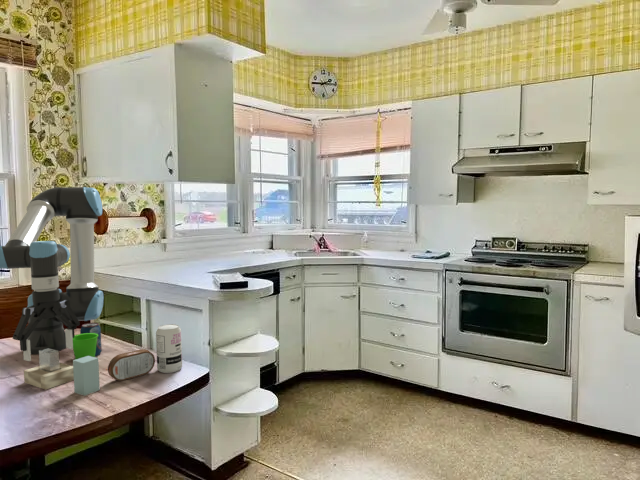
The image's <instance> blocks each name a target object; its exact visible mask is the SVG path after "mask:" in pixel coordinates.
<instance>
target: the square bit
mask: <svg viewBox="0 0 640 480" xmlns="http://www.w3.org/2000/svg"><path fill="white" fill-rule="evenodd" d="M72 366H73V372H74V380H73V386H74V388H73V389H74V391H73V392H74V393H75V394H76V395H77V394H78V395H81V396H85V397H86V396H88V395H91V394H93V393H95V392H98V391H100V390H101V388H100V387H101V386H100V384H101V383H100V368H99V366H100V365H99V357H91V356H86V357H82V358H79V359H76V360H75V359H73V360H72ZM90 393H91V394H90Z"/></svg>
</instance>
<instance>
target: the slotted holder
mask: <svg viewBox="0 0 640 480" xmlns="http://www.w3.org/2000/svg"><path fill="white" fill-rule="evenodd" d="M59 364H60V370H57V371H54V372H46V371H43V370H40V365H38V366H35V367H32V368H27V369H24V370H23V378H24V381H23V382H24V383H25V384H28V385H31V386H33V387H37V388H39V389H43V390H49V389H51V388H54V387H57V386H60V385H63V384H66V383H69V382H72V381H74V372H73V365H70V364H66V363H62V362H59Z"/></svg>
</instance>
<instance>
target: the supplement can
mask: <svg viewBox="0 0 640 480" xmlns="http://www.w3.org/2000/svg"><path fill="white" fill-rule="evenodd" d="M155 344H156V346H155V347H156V367H157V368H156V369H157V371H158V372H160V373H163V374H169V373H170V374H171V373H175V372H179V371H180V370H181V368H182V367H183V352H182V349H183V347H182V345H183V344H182V329H181V327H180V325H179V324H176V323H175V324H174V323H169V324H162V325H159V326H158V327H157V329H156V332H155Z"/></svg>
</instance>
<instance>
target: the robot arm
mask: <svg viewBox="0 0 640 480" xmlns="http://www.w3.org/2000/svg"><path fill="white" fill-rule="evenodd" d="M102 215H103V204H102V199H101V196H100V192H99V191H98V190H97V189H96V188H95V187H87V186H79V187H77V186H76V187H75V186H74V187H67V186H66V187H51V188H48V189H46V190H43V191H42V192H40V193H39V194H37V195H35V196H33V197H32V199H31V200H30V201H29V203H28V204H27V206H26V212H25V214H24V216H23V218H22V219H21V220H20V222H19V224H18V225H17V226H16V228H15V230H14V231H13V233H12V235H11V236H10V238H9V239H8V241H7V242H6V244H5V245H0V270H3V269H4V270H11V269H14V270H15V269H27V268H28V269H30V276H31V277H30V278H31V281H30V282H31V290H32V291H31V294H30V295H28V298H27V306H26V307H22V310H21V317H20V319H19V322H17V323H18V324H17V325H16V328H15V331H14V333H13V335H12V339H13V340H14V341H19V349H20V351H21V352H22V354H23V361H27V362H31V361H32V355H39V351H40V350H43V349H47V348H49V349H53V350H57V351H59V352H60V351H62V350H65V349H69V350H73V338H74V337H75V335H76V334H75V330H76V329H77V326H78V327H79V326H80V325H81V323H80V322H81V321H82V322H83V321H84V322H88V321H94V320H97V319H99V317H100V316H101V314H102V311H103V307H104V298H105V297H104V291H102V290H100V289H99V285H98V284H96V283H95V233H94V232H95V228H94V227H95V224H96V223H97V222H98V220H99V219H98V218H99V217H100V216H102ZM54 217H65V221H66V222H67V223H68V224H69V225H70V226H69V227H70V228H69V233H70V235H69V236H70V243H69V244H70V249H69V248H68V247H67V246H65V244H64V245H63V244H62V243H59V244H58V243H57V242H56V241H53V240H40V241H39V240H38V239H39V237H40V236H41V234H42V232H43V230H44V229H45V226H46V225H47V224H48V222H49V221H52V219H53V218H54ZM69 260H70V284H69V285H68V286H66V292H63V291H62V289H60V288H59V287H60V282H59V280H60V279H59V267H61V266H63V265H65V264H66V263H67V262H69ZM64 326H66V327H67V328H64Z"/></svg>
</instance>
